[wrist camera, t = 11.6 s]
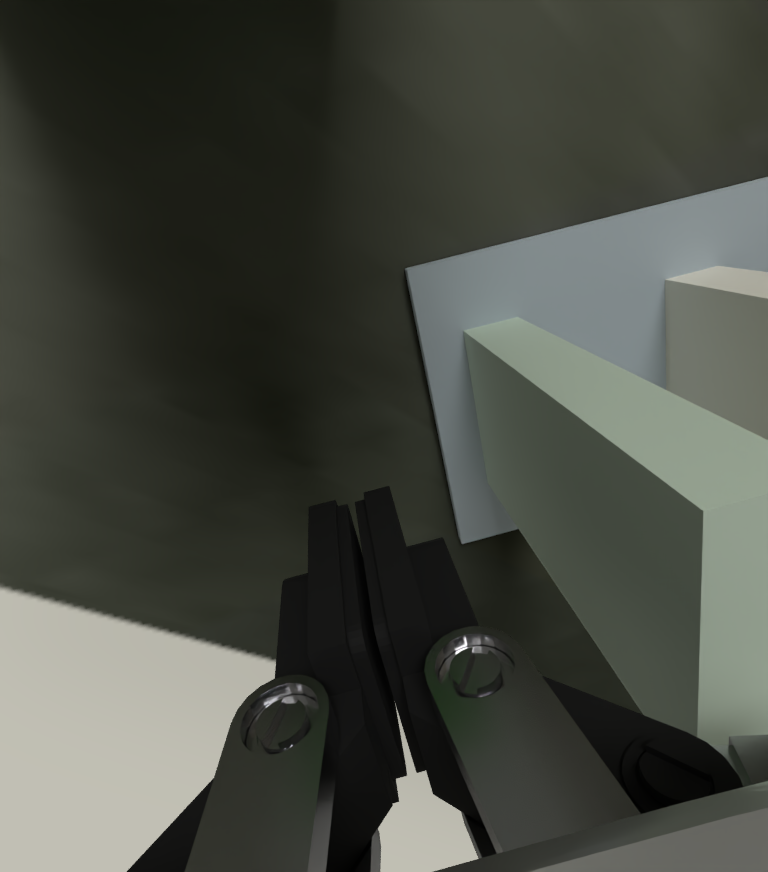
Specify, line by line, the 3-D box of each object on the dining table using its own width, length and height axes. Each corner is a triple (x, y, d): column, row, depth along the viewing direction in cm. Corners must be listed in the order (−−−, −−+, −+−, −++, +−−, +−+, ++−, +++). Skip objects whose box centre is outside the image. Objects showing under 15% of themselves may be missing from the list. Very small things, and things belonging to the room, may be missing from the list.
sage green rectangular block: (487, 482, 17) (696, 792, 8) (463, 330, 15) (704, 511, 6) (535, 470, 17) (796, 763, 8) (518, 316, 15) (837, 475, 6)
